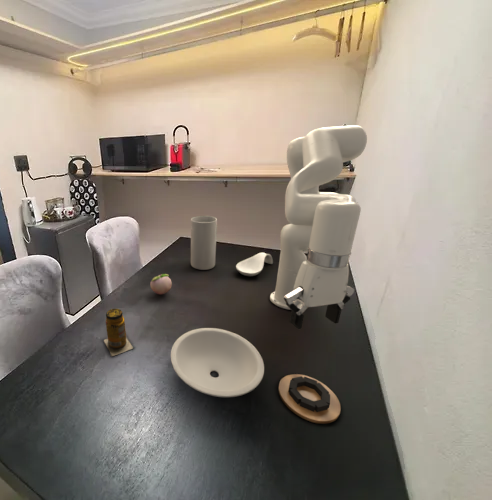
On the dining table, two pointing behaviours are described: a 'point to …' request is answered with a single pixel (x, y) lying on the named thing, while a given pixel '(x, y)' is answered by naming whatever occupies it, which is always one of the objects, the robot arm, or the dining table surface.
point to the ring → (307, 403)
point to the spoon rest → (254, 264)
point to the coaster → (311, 394)
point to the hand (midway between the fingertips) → (313, 322)
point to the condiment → (116, 333)
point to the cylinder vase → (203, 242)
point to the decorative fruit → (161, 284)
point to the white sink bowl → (217, 362)
